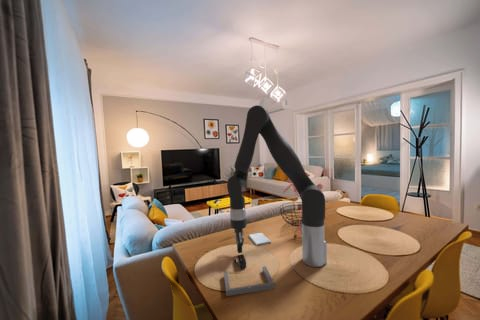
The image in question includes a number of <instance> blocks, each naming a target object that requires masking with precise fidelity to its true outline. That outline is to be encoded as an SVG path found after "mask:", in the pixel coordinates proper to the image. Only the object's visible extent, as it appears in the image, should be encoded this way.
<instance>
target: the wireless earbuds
mask: <svg viewBox="0 0 480 320" xmlns="http://www.w3.org/2000/svg"><path fill="white" fill-rule="evenodd" d="M232 261H233V262H234V264H236V263H237V262H238V263H237V264H238V266H239V270H245V268H246V269H247V261H246V257H245V255H244V254H238V255H237V258H234V259H233V260H232Z"/></svg>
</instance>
